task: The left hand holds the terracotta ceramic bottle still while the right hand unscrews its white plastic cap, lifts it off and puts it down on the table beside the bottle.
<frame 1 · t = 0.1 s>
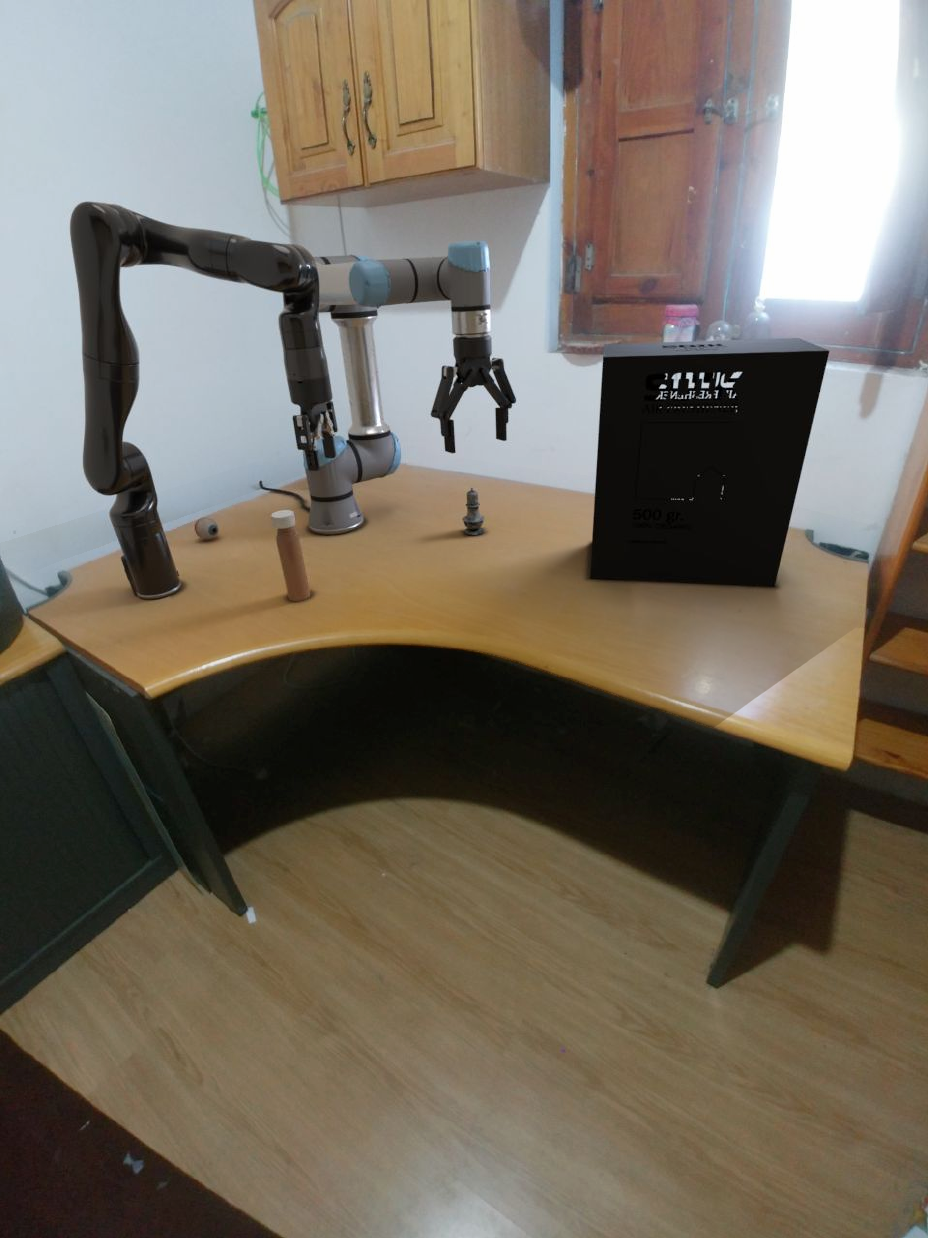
left hand: (322, 463, 116), 29 cm above the table, tool pointing down, fingers open, 8 cm apart
right hand: (476, 445, 127), 28 cm above the table, tool pointing down, fingers open, 13 cm apart
cap: (282, 515, 123), point 19 cm above the table, screwed on, not yet turned
eyeball: (210, 539, 165), on the table
cardboard box: (675, 562, 137), on the table
salt shaker: (474, 531, 160), on the table
bottle: (299, 595, 133), on the table
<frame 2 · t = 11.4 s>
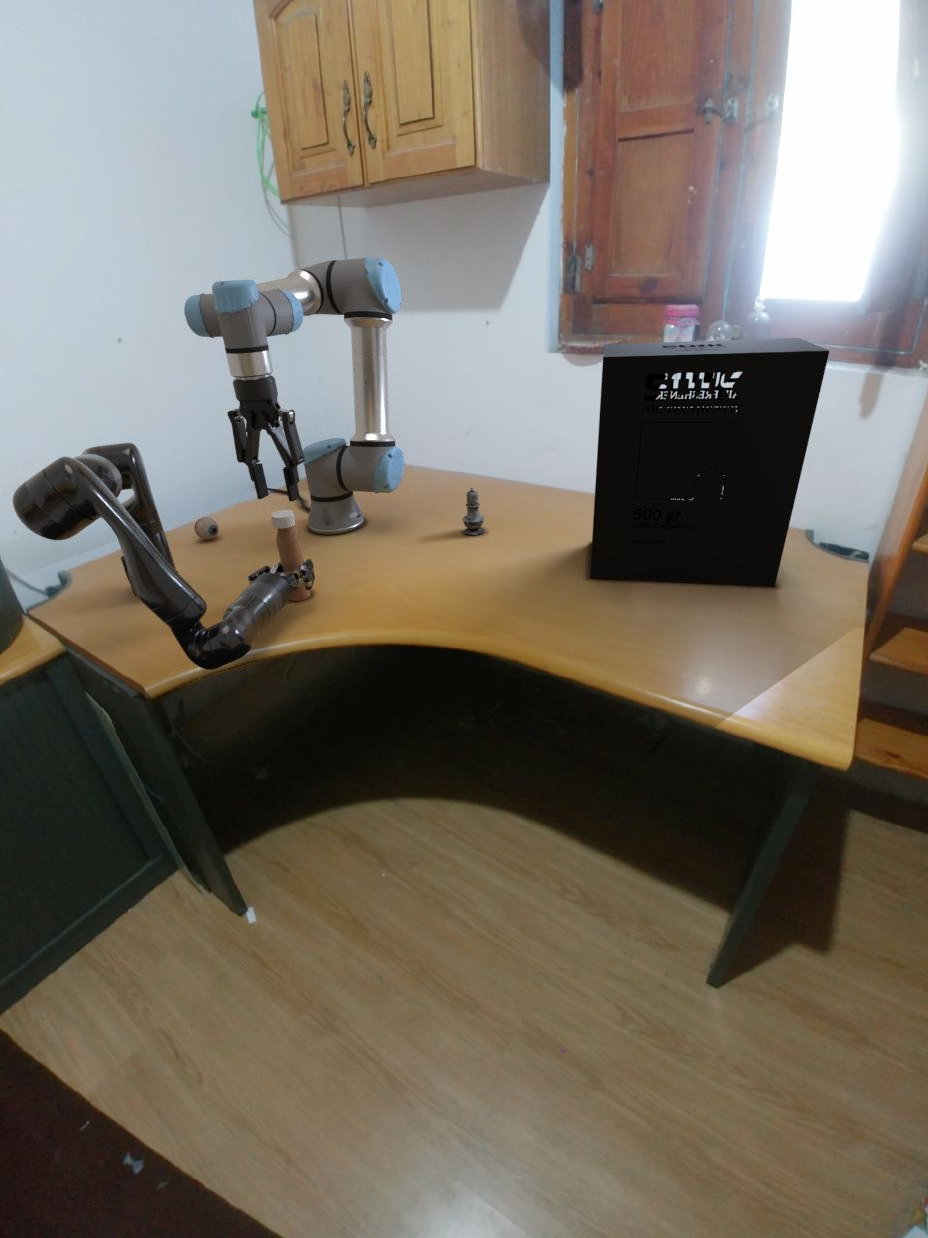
left hand: (298, 562, 132), 7 cm above the table, tool horizontal, fingers closed on bottle, 4 cm apart
right hand: (278, 497, 122), 22 cm above the table, tool pointing down, fingers open, 7 cm apart
bottle: (299, 595, 133), on the table, touching left hand
everything else where it was.
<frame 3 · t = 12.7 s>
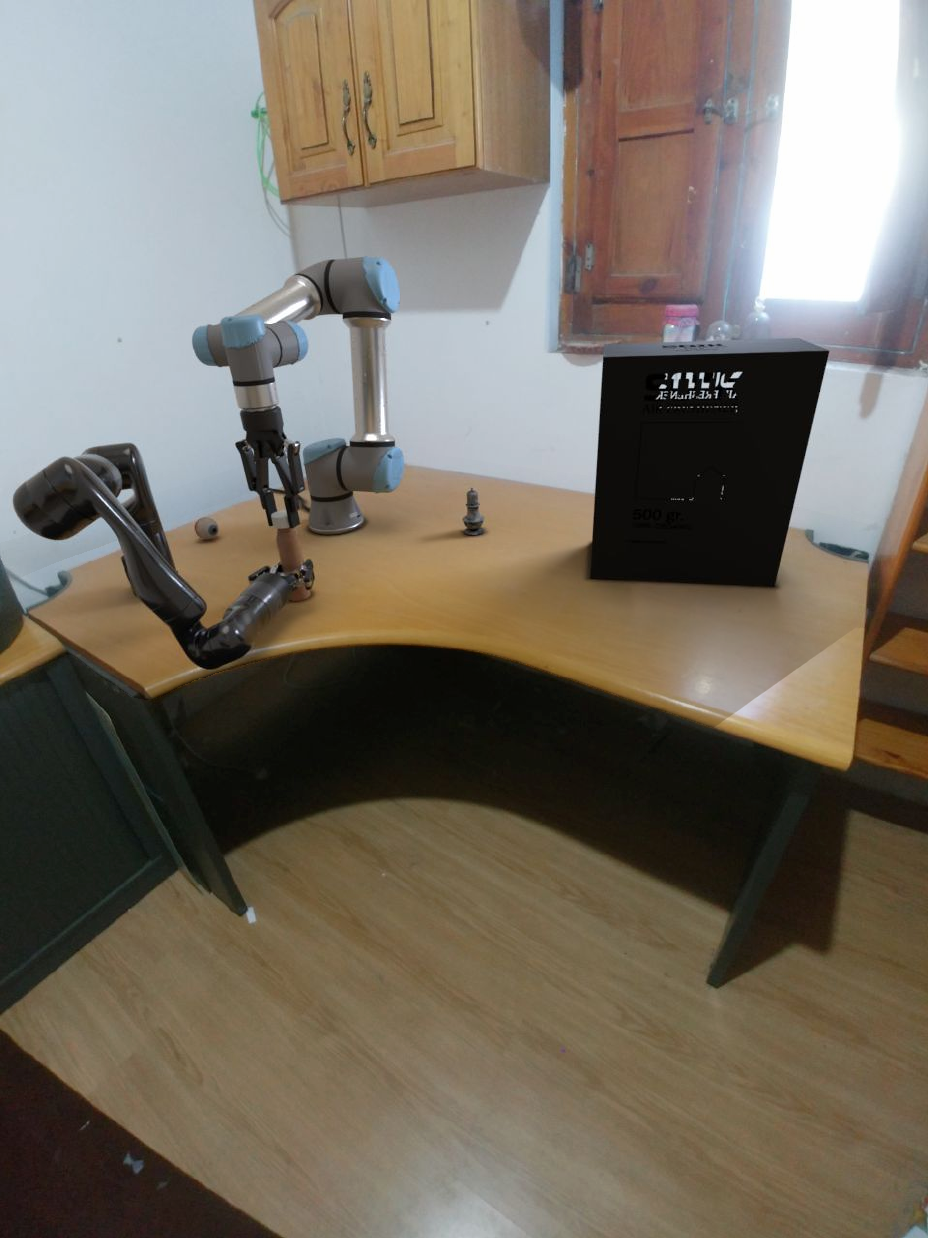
left hand: (298, 562, 132), 7 cm above the table, tool horizontal, fingers closed on bottle, 4 cm apart
right hand: (284, 524, 124), 17 cm above the table, tool pointing down, fingers closed on cap, 4 cm apart
cap: (282, 515, 123), point 19 cm above the table, screwed on, not yet turned, touching right hand
bottle: (299, 595, 133), on the table, touching left hand
everything else where it was.
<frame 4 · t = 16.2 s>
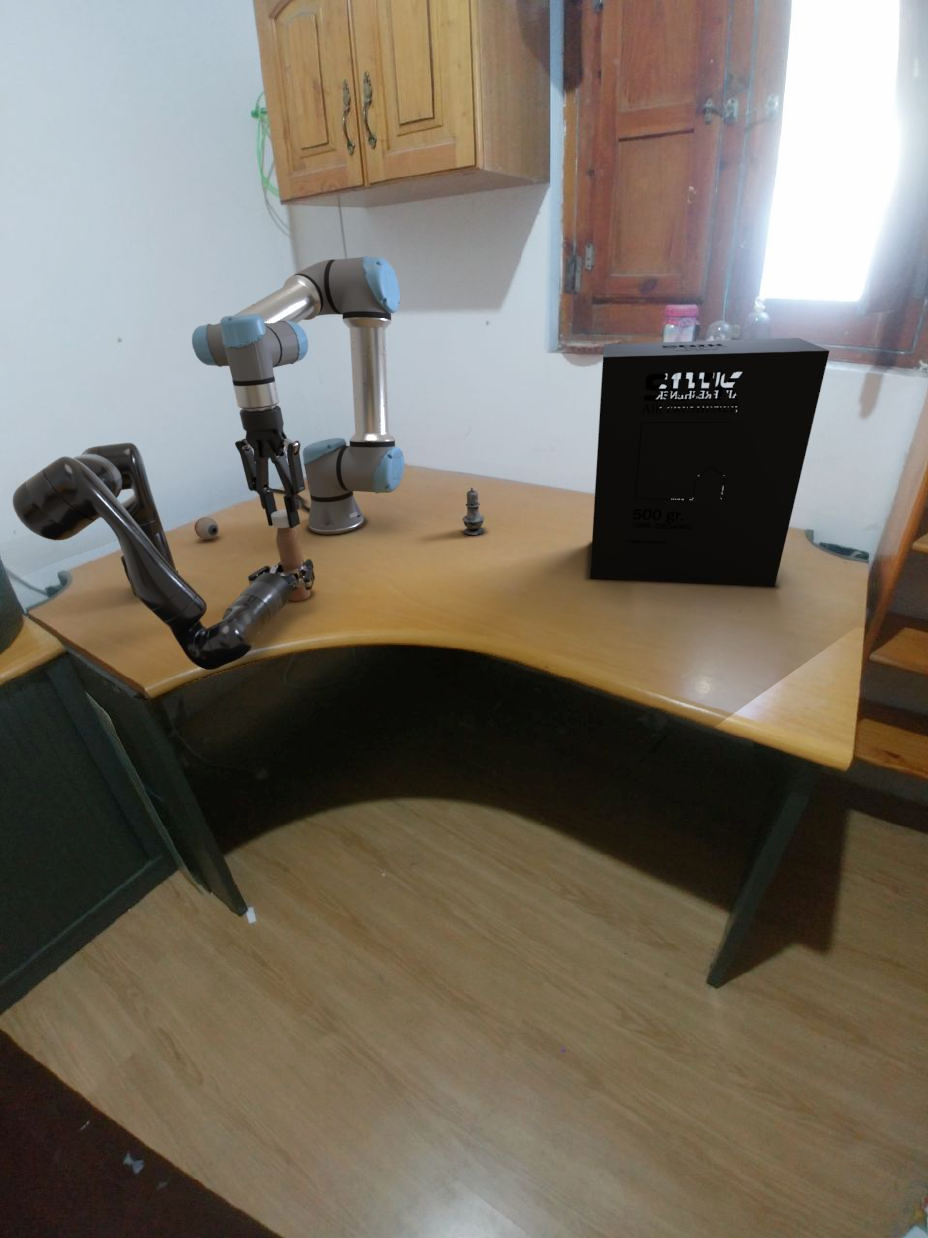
left hand: (298, 562, 132), 7 cm above the table, tool horizontal, fingers closed on bottle, 4 cm apart
right hand: (284, 524, 124), 17 cm above the table, tool pointing down, fingers closed on cap, 4 cm apart
cap: (282, 514, 123), point 19 cm above the table, turned 113° so far, risen 0.1 cm, still on its thread, touching right hand
bottle: (299, 596, 133), on the table, touching left hand
everything else where it was.
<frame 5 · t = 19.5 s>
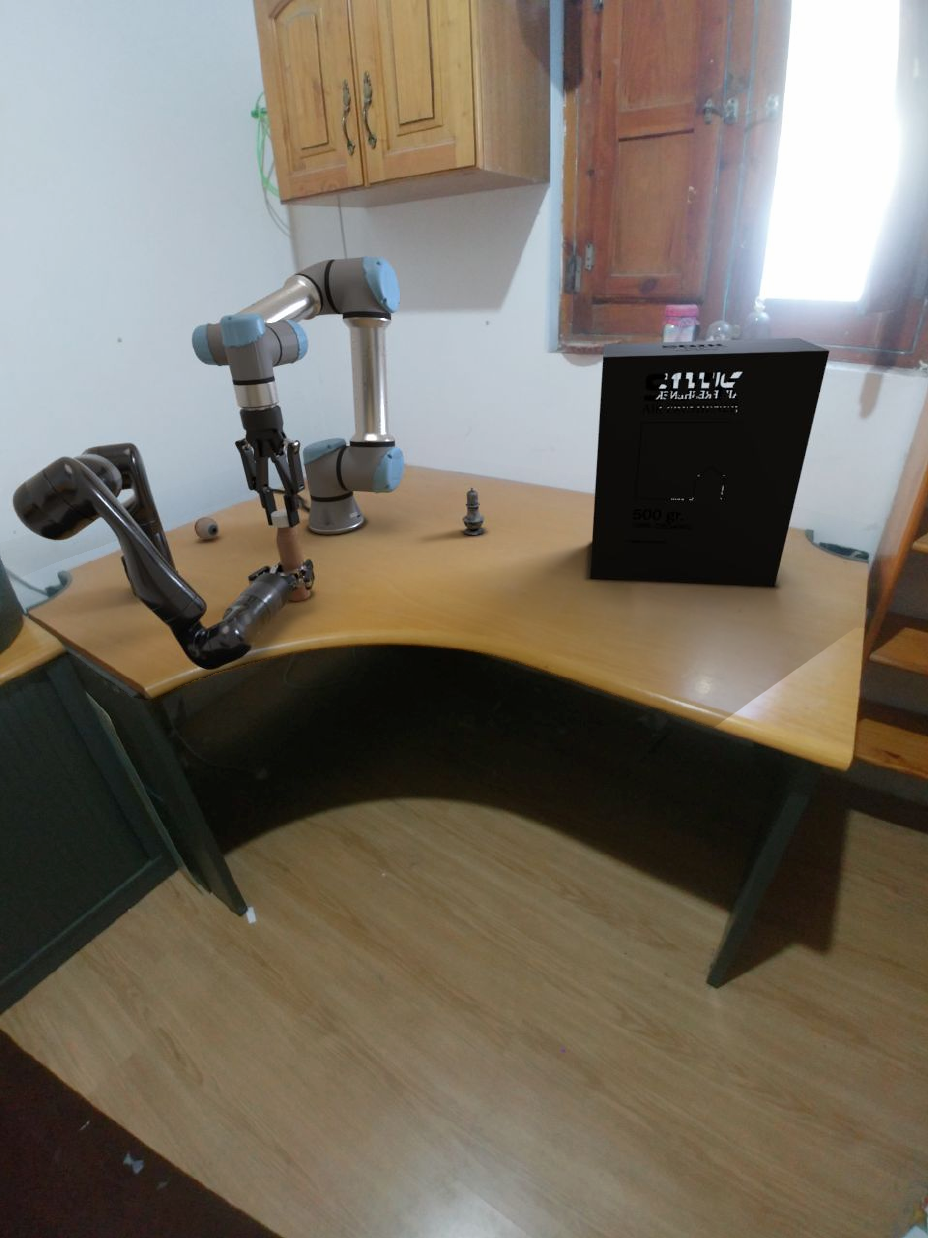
left hand: (298, 562, 132), 7 cm above the table, tool horizontal, fingers closed on bottle, 4 cm apart
right hand: (284, 523, 124), 17 cm above the table, tool pointing down, fingers closed on cap, 4 cm apart
cap: (282, 514, 123), point 19 cm above the table, turned 226° so far, risen 0.2 cm, still on its thread, touching right hand
bottle: (299, 596, 133), on the table, touching left hand
everything else where it was.
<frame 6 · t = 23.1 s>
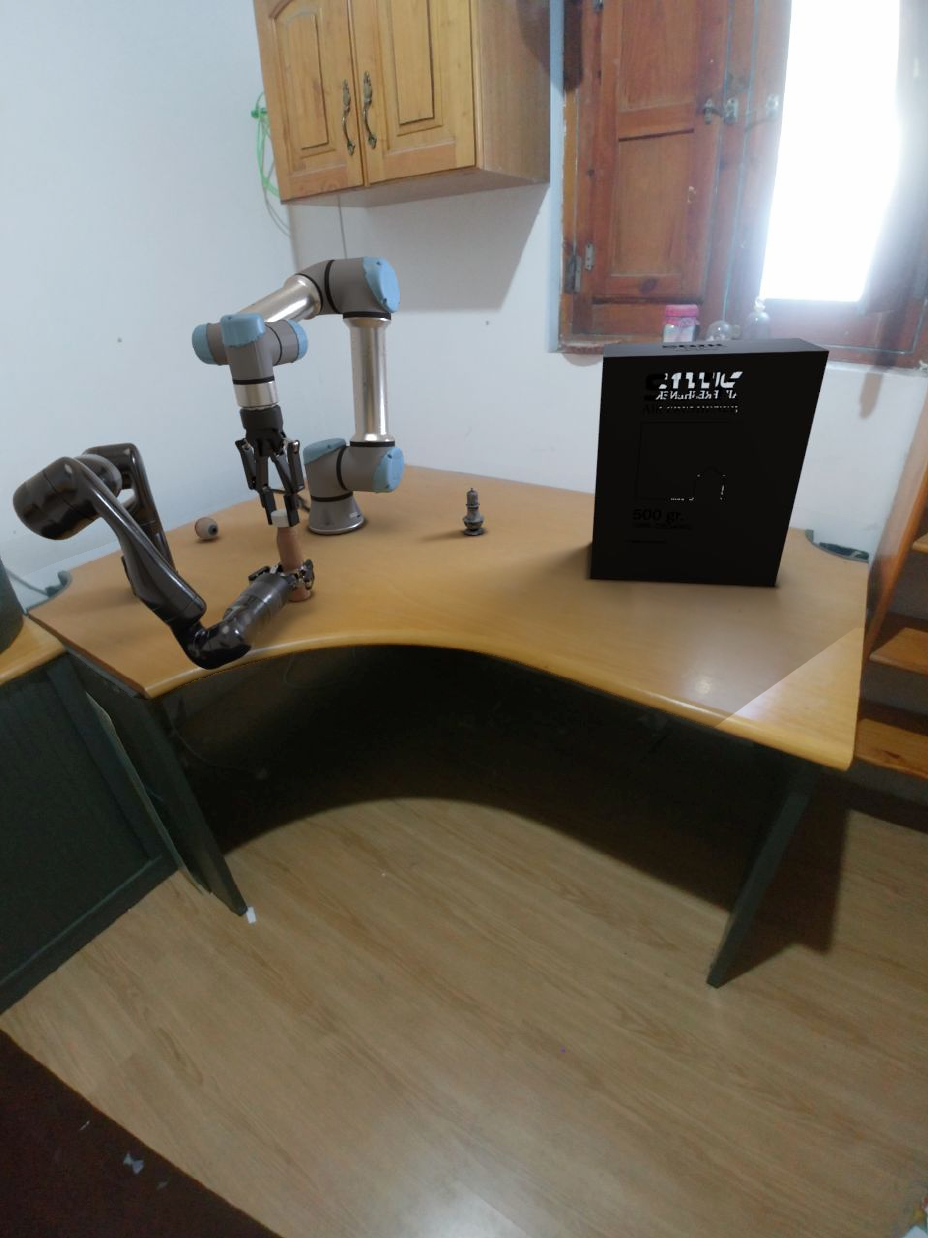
left hand: (298, 562, 132), 7 cm above the table, tool horizontal, fingers closed on bottle, 4 cm apart
right hand: (284, 523, 124), 17 cm above the table, tool pointing down, fingers closed on cap, 4 cm apart
cap: (282, 513, 123), point 19 cm above the table, turned 339° so far, risen 0.3 cm, still on its thread, touching right hand
bottle: (299, 596, 133), on the table, touching left hand
everything else where it was.
when the right hand's fingers open (2 cm above the table, at t = 30.2 s): cap drops 2 cm, point 2 cm above the table.
when the left hand's fingers open (7 cm above the table, at t = 31.4 s): bottle stays where it is, on the table.
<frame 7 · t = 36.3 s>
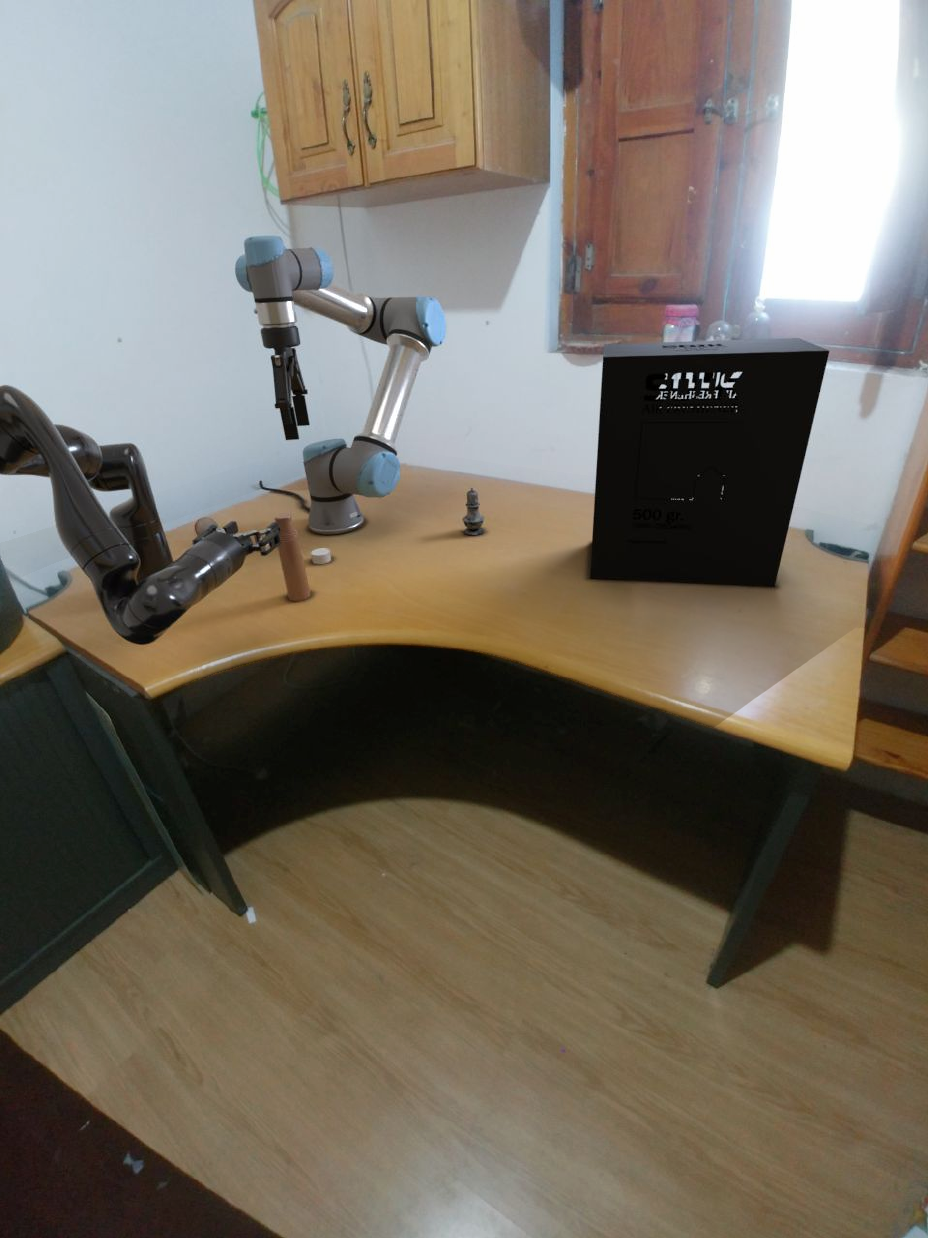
left hand: (256, 526, 113), 21 cm above the table, tool horizontal, fingers open, 8 cm apart
right hand: (298, 432, 133), 31 cm above the table, tool pointing down, fingers open, 13 cm apart
cap: (320, 552, 148), point 2 cm above the table, off its thread
bottle: (299, 596, 133), on the table
everything else where it was.
at the end: cap came off its thread; cap point 2.1 cm above the table; the left hand is holding nothing; the right hand is holding nothing; bottle tilted 0°; bottle moved 0.0 cm from its start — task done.
